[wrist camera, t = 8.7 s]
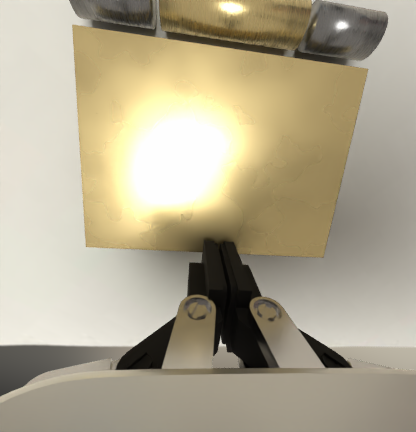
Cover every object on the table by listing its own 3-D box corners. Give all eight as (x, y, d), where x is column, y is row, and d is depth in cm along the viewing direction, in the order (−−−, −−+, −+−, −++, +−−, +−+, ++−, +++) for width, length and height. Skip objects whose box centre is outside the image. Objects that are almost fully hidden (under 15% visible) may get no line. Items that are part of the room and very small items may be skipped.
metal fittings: (360, 27, 11) (398, 2, 9) (301, 237, 15) (317, 252, 13) (81, -20, 9) (52, -63, 7) (104, 226, 14) (90, 241, 12)
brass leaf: (359, 28, 11) (393, 0, 9) (310, 249, 13) (328, 261, 12) (84, -20, 9) (59, -63, 7) (96, 238, 12) (81, 250, 10)
